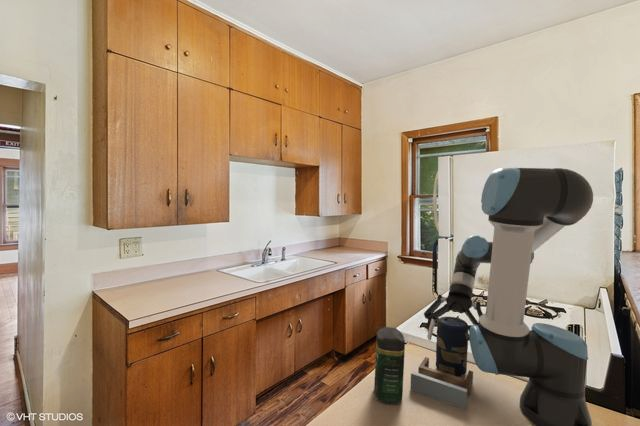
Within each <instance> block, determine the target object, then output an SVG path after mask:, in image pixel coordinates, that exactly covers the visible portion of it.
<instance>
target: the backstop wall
mask: <svg viewBox="0 0 640 426" xmlns="http://www.w3.org/2000/svg"><path fill="white" fill-rule="evenodd" d="M409 387H410V391H413V392H415V393H417V394H420V395H424V396H426V397H429V398H431V399H433V400H436V401H440V402H442V403H445V404H448V405H450V406H453V407H455V408H459V409H461V410H464V411H466V410H467V405H468V396H467V390H468V389H465V388H462V387H459V386H456V385H453V384H450V383H447V382H444V381H441V380H438V379H435V378H432V377H429V376H426V375H423V374H420V373H418V371H413V370H412V371H411V373H410V386H409Z"/></svg>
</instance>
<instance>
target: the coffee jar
mask: <svg viewBox="0 0 640 426" xmlns="http://www.w3.org/2000/svg"><path fill="white" fill-rule="evenodd" d="M375 335H376V341H375V363H374V365H375V366H374V383H373V384H374V387H373V388H374V389H373V391H374V396H375V398H376V400H378V401H379V402H382V403H384V404H388V405H394V404H399V403H402V400H403V392H404V389H403V388H404V372H405V371H404V370H405V354H406V352H405V348H406V347H405V346H406V345H405V343H406V340H405V336H404V334H403V332H401V331H400V330H399V329H397V328H396V327H391V326H389V327H388V326H382V327H381V328H380V329H378V330H377V332H376V334H375Z"/></svg>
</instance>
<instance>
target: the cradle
mask: <svg viewBox="0 0 640 426" xmlns="http://www.w3.org/2000/svg"><path fill="white" fill-rule="evenodd" d="M417 373H420V374H423V375H426V376H429V377H432V378H435V379H438V380H441V381H444V382H447V383H450V384H453V385H456V386H459V387H462V388H465V389H468V390H467V398H468V397H469V396H470V393H471V390H472V388H473V383H474V382H473V381H474V371H473V370H468V372H467V374H466V377H465V378H464V377H457V376H454V375H451V374H447V373H444V372H441V371H439V370H438V369H435V368H431V367H430V358H429V357H426V356H425V357H424V358H423V360H422V361H421V363H420V364H419V365H418V371H417Z"/></svg>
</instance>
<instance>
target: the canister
mask: <svg viewBox="0 0 640 426" xmlns="http://www.w3.org/2000/svg"><path fill="white" fill-rule="evenodd" d="M437 319H438V320H437V322H436V324H437V325H436V344H435V346H436V347H435V357H436V358H435V368H436V370H438V371H441V372H444V373H447V374H451V375H454V376H457V377H460V378H462V377H463V376H465V375H467V374H466V373H467V371H468V370H467V369H468V367H467V365H468V349H469V348H468V347H469V324H468V323H467V322H466V321H465V320H463V319H461V318H458V317H455V316H440V317H439V318H437Z"/></svg>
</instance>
